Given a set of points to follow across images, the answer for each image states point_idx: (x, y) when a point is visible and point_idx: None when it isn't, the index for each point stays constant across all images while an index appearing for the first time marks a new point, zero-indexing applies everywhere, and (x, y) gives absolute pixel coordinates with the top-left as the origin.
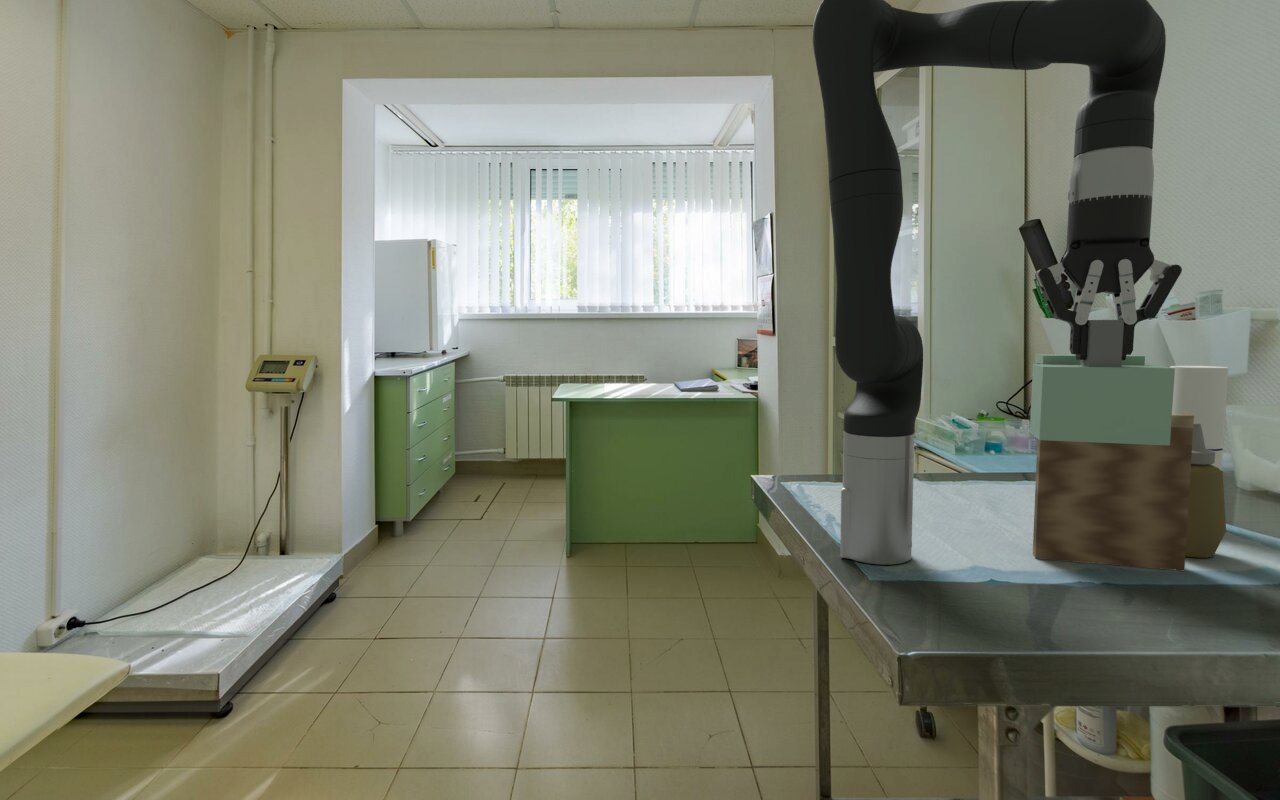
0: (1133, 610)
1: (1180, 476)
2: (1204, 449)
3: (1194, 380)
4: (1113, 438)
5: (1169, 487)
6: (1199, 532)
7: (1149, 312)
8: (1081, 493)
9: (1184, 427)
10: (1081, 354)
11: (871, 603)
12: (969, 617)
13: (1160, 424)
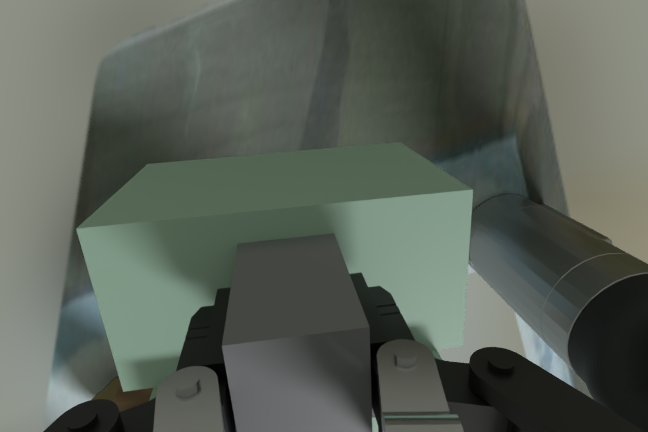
0: (225, 144)
1: (122, 409)
2: None
3: None
4: (257, 157)
5: (142, 392)
6: (116, 390)
7: (88, 420)
8: None
9: None
10: (359, 276)
11: (519, 47)
12: (411, 42)
13: (157, 174)
